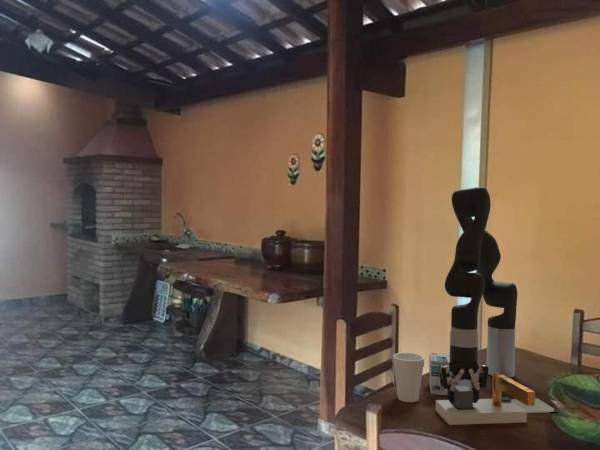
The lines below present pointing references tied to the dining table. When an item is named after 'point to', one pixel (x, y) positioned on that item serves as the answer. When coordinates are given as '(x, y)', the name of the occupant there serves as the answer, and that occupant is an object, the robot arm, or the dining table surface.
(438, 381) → the light bulb box
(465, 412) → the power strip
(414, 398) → the foam cup
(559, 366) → the dining table surface
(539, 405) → the mat
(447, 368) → the robot arm
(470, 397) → the plug
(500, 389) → the orange lever handle
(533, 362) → the dining table surface
